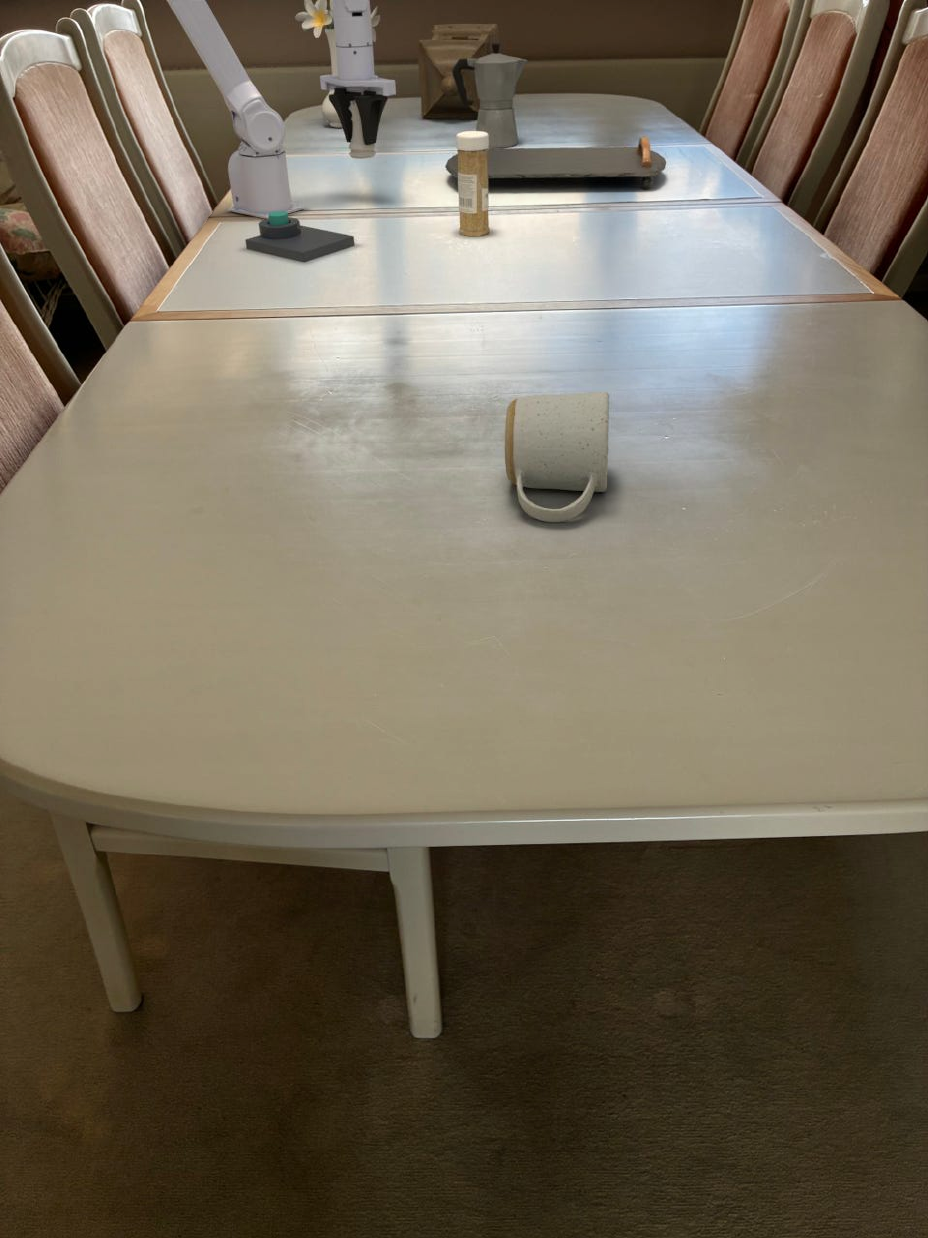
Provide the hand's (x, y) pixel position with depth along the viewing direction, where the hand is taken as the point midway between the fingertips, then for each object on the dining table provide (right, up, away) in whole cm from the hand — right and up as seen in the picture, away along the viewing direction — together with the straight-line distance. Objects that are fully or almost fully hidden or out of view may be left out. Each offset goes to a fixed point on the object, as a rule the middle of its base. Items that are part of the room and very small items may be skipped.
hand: (361, 142), depth 155 cm
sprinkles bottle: (+18, -20, -13) cm, 30 cm away
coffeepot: (+22, +20, +42) cm, 52 cm away
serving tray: (+33, +1, +15) cm, 36 cm away
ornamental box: (+15, +44, +75) cm, 88 cm away
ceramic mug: (+24, -67, -78) cm, 106 cm away
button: (-10, -20, -17) cm, 28 cm away
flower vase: (-10, +36, +65) cm, 75 cm away
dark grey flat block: (-7, -24, -18) cm, 30 cm away
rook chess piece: (0, -2, +1) cm, 2 cm away
